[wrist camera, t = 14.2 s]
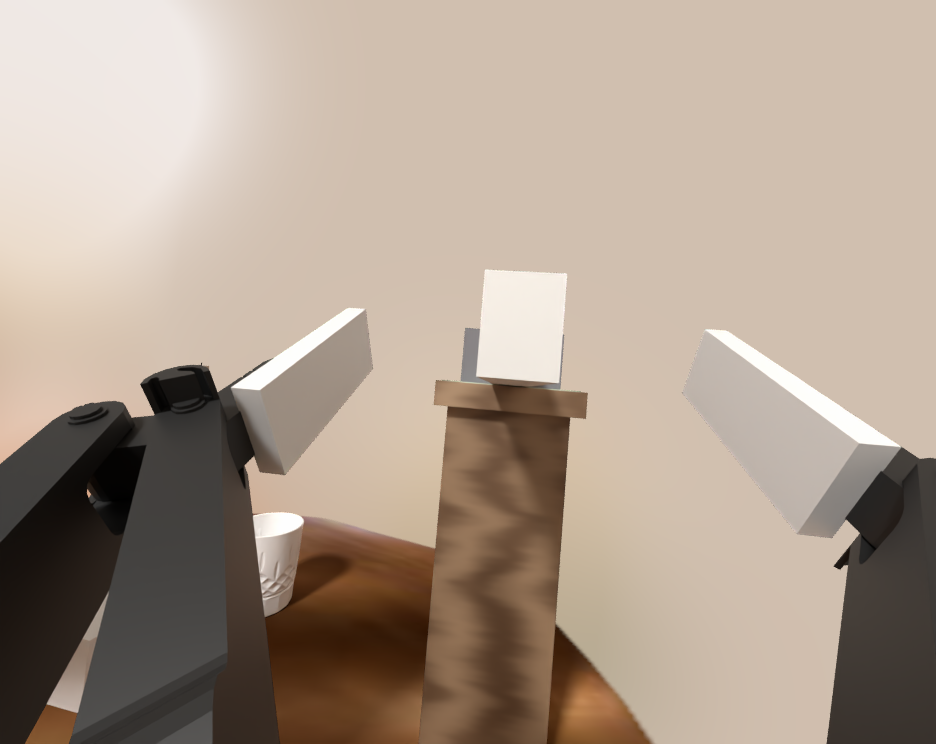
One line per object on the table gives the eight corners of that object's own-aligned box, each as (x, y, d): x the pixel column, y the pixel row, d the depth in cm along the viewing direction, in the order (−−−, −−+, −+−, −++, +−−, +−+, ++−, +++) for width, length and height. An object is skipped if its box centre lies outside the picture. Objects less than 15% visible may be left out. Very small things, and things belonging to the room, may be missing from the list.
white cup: (212, 606, 43) (221, 524, 43) (274, 578, 50) (281, 507, 50) (246, 633, 39) (255, 543, 39) (309, 599, 46) (316, 522, 46)
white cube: (155, 660, 35) (162, 598, 35) (79, 715, 29) (89, 640, 29) (106, 647, 36) (113, 587, 36) (23, 698, 30) (33, 626, 30)
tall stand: (401, 764, 27) (436, 378, 28) (436, 637, 41) (458, 382, 42) (559, 798, 26) (587, 391, 27) (540, 654, 40) (559, 391, 41)
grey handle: (397, 370, 13) (409, 240, 13) (469, 383, 40) (473, 340, 40) (646, 390, 12) (655, 249, 12) (548, 389, 39) (552, 345, 39)
